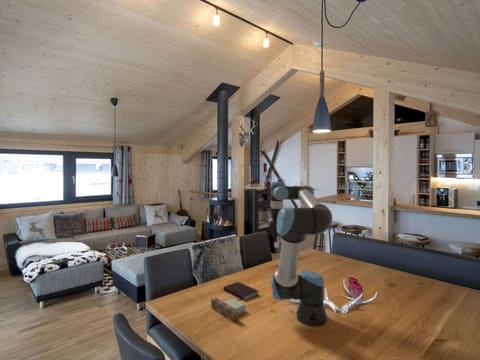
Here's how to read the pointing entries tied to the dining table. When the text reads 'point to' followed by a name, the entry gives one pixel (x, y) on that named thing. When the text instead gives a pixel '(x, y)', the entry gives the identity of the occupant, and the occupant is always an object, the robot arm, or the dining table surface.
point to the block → (236, 305)
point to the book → (241, 291)
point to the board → (225, 309)
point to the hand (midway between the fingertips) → (276, 247)
